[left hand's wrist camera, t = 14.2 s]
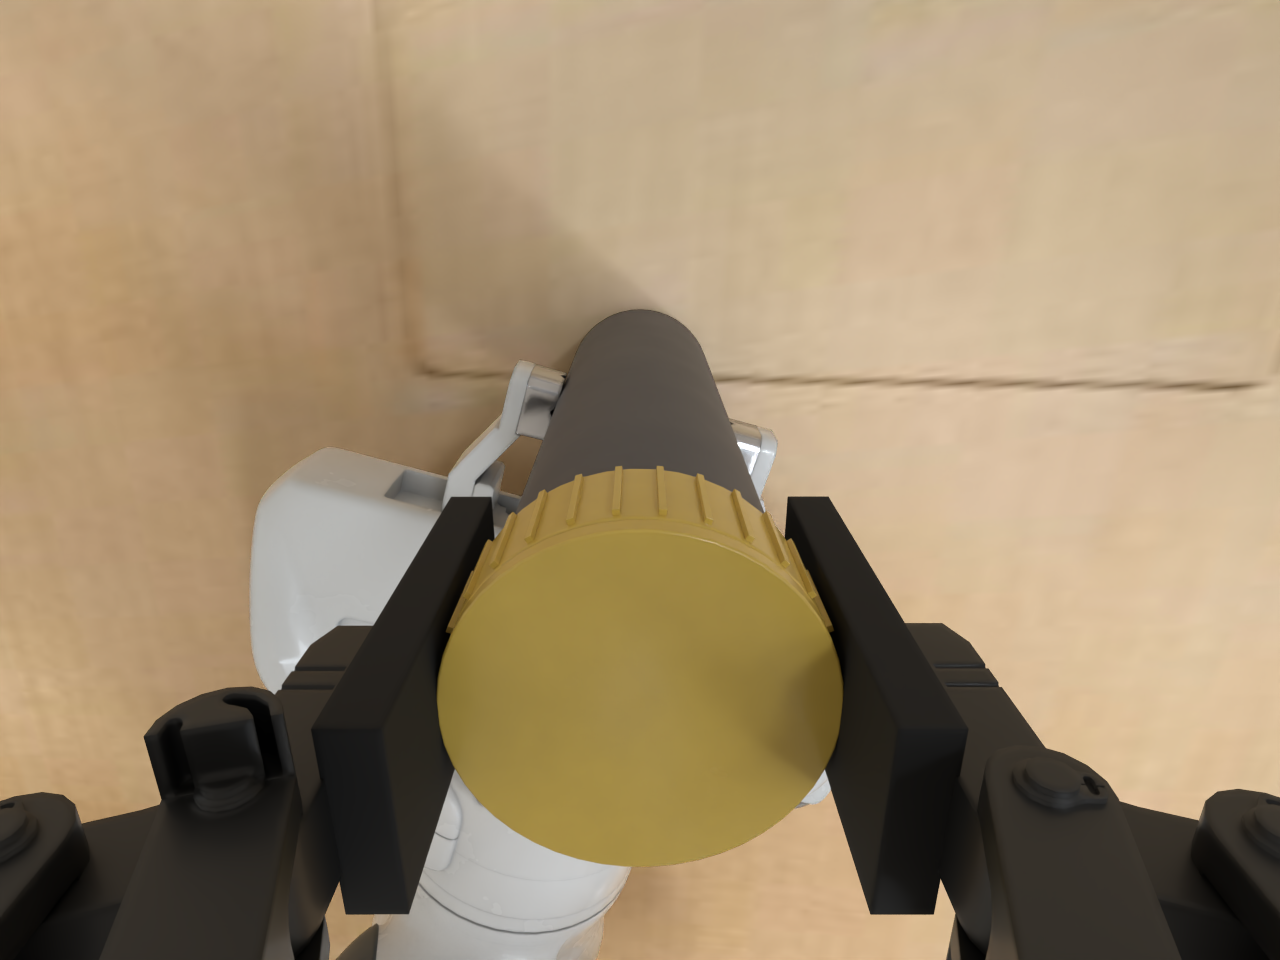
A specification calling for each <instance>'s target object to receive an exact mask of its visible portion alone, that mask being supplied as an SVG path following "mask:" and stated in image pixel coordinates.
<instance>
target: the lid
mask: <svg viewBox="0 0 1280 960" xmlns="http://www.w3.org/2000/svg"><path fill="white" fill-rule="evenodd" d="M832 631H834V628H833V626H832V623H831V621H830V619H829V616H828V614H827V612H826V610H825V607H824V605H823V603H822V600H821V598H820V596H819V594H818V591H817V589H816V587H815V584H814V582H813V580H812V578H811V575H810V573H809V571H808V570H806V569H805V567H804V564H803V562H802V560H801V557H800V555H799V553H798V550H797V548H796V546H795V544H794V542H793V540H792V539H789V540H787V541H786V539H785V538H784V537H783V535H782V534H781V533H780V531H779V530H778V529H777V527H776V526H775V524H774V522H773V519H772V517H771V515H770V514H769V513H768V512H767V511H765V512H764V513H762V512H760V511H759V510H758V509H756V508H755V507H754V506H752V505H751V504H750V503H749V502H747V501H746V500H745V499H743V498H742V496H741V493H740V491H738V490H736V489H734V490H733V491H732V492H731V491H729V490H727V489H725V488H724V487H721V486H719V485H716V484H714V483H711V482H709V481H707V480H705V479H704V475H701V474H698V473H697V475H696V477H694V476H690V475H686V474H683V473H679V472H672V471H665V470H664V467H663V466H656V469H624V470H623V468H622V466H616V467H615V471H607V472H602V473H598V474H594V475H590V476H586V477H583V475H582V474H579V475H576V476H575V479H574V481H571V482H569V483H566V484H563V485H561V486H559V487H557V488H555V489H553V490H551V491H549V492H548V493H547V492H546V490H545V489H544V490H542V491H541V492H539V494H538V497H537V499H536V500H535V501H533V502H532V503H530V504H529V505H528V506H526V507H525V508H523V509H522V510H521V511H520V512H519V513H518V514H517V515H516V514H515V513H514V512H512V513H511V514H510V515H509V516H508V518H507V521H506V523H505V526H504V528H503V529H502V530H501V532H500V533H499V534H498V535H497V537H496V538H495V539H494V540H493V542H492V541H491V540H489V539H488V540H487V542H486V543H485V546H484V548H483V550H482V553H481V555H480V557H479V560H478V562H477V564H476V567H475V569H474V571H471V574H470V576H469V578H468V580H467V583H466V585H465V587H464V590H463V592H462V594H461V597H460V599H459V601H458V603H457V606H456V608H455V610H454V613H453V615H452V617H451V620H450V622H449V624H448V627H447V629H446V632H447V633H450V634H451V635H450V638H449V640H448V643H447V645H446V648H445V650H444V653H443V655H442V659H441V664H440V668H439V673H438V677H437V693H436V694H437V708H438V717H439V726H440V731H441V735H442V739H443V742H444V746H445V748H446V750H447V753H448V755H449V757H450V760H451V762H452V764H453V766H454V768H455V769H456V771H457V773H458V774H459V776H460V778H461V779H462V781H463V783H464V784H465V785H466V787H467V788H468V789H469V790H470V792H471V793H472V794H473V795H474V796H475V798H476V799H477V800H478V801H479V802H480V803H481V804H482V805H483V806H484V807H485V808H486V809H487V810H488V811H489V812H490V813H491V814H492V815H493V816H494V817H496V818H497V819H498V820H500V821H501V822H502V823H504V824H505V825H506V826H508V827H509V828H510V829H512V830H513V831H515V832H517V833H518V834H520V835H522V836H523V837H525V838H527V839H529V840H530V841H532V842H534V843H536V844H538V845H541V846H543V847H545V848H548V849H550V850H552V851H554V852H557V853H560V854H563V855H566V856H570V857H573V858H576V859H579V860H584V861H589V862H594V863H598V864H605V865H614V866H623V867H655V866H666V865H676V864H681V863H686V862H691V861H696V860H700V859H704V858H707V857H710V856H714V855H717V854H720V853H723V852H725V851H728V850H730V849H732V848H735V847H737V846H740V845H742V844H744V843H746V842H748V841H749V840H751V839H753V838H755V837H757V836H758V835H760V834H762V833H764V832H765V831H767V830H768V829H769V828H771V827H772V826H774V825H775V824H776V823H778V822H779V821H781V820H782V819H783V818H784V817H785V816H786V815H788V814H789V813H790V812H791V811H792V810H793V809H794V808H795V807H796V806H797V805H799V803H800V802H801V801H802V800H803V799H804V798H805V796H806V795H807V794H808V793H809V792H810V791H811V789H812V788H813V787H814V786H815V784H816V782H817V781H818V779H819V778H820V776H821V775H822V773H823V772H824V770H825V769H826V766H827V764H828V762H829V760H830V758H831V756H832V753H833V751H834V749H835V746H836V742H837V739H838V736H839V729H840V721H841V713H842V704H843V690H844V683H843V677H842V672H841V666H840V661H839V658H838V655H837V652H836V649H835V647H834V644H833V641H832V638H831V636H830V634H829V632H832Z"/></svg>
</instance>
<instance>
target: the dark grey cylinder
mask: <svg viewBox="0 0 1280 960" xmlns="http://www.w3.org/2000/svg"><path fill="white" fill-rule="evenodd" d="M616 466H622V468H623V470H624V469H656V466H663V467H664V470H665V471H672V472H679V473H683V474H686V475H690V476H694V477H696V475H697V473H698V474H701V475H704V479H705V480H707V481H709V482H711V483H714V484H716V485H719V486H721V487H724V488H725V489H727V490H729V491H731V492H732V491H733V490H734V489H736V490H738V491H740V493H741V496H742V498H743V499H745V500H746V501H747V502H749V503H750V504H751V505H752V506H754V507H755V508H756V509H758V510H759V511H760V512H762V513H764V510H763V507H762V505H761V502H760V500H759V497H758V494H757V492H756V489H755V486H754V484H753V481H752V479H751V476H750V473H749V471H748V468H747V465H746V463H745V460H744V458H743V455H742V452H741V450H740V447H739V444H738V442H737V439H736V437H735V434H734V431H733V429H732V426H731V423H730V421H729V418H728V416H727V413H726V410H725V408H724V405H723V402H722V400H721V397H720V395H719V392H718V389H717V387H716V384H715V381H714V379H713V376H712V374H711V371H710V368H709V366H708V363H707V360H706V358H705V355H704V353H703V350H702V348H701V346H700V344H699V343H698V341H697V339H696V338H695V337H694V335H693V334H692V333H691V332H690V331H689V330H688V329H687V328H686V327H685V326H684V325H683V324H681V323H680V322H678V321H677V320H675V319H674V318H672V317H670V316H668V315H665V314H662V313H660V312H655V311H651V310H629V311H624V312H620V313H617V314H614V315H612V316H610V317H608V318H606V319H604V320H603V321H601V322H600V323H598V324H597V325H596V326H595V327H594V328H592V329H591V330H590V332H589V333H588V334H587V335H586V336H585V338H584V339H583V341H582V342H581V344H580V346H579V348H578V350H577V352H576V354H575V357H574V360H573V362H572V365H571V368H570V370H569V373H568V376H567V378H566V381H565V384H564V387H563V390H562V392H561V395H560V397H559V400H558V402H557V405H556V407H555V410H554V413H553V415H552V418H551V420H550V423H549V426H548V428H547V431H546V434H545V436H544V439H543V442H542V444H541V447H540V449H539V452H538V455H537V457H536V460H535V463H534V465H533V468H532V471H531V473H530V476H529V479H528V481H527V484H526V486H525V489H524V492H523V494H522V497H521V500H520V502H519V505H518V508H517V510H516V513H515V514H516V515H517V514H518V513H519V512H520V511H521V510H522V509H523V508H525V507H526V506H528V505H529V504H530V503H532V502H533V501H535V500H536V499H537V497H538V494H539V492H541V491H542V490H544V489H545V490H546V492H547V493H548V492H549V491H551V490H553V489H555V488H557V487H559V486H561V485H563V484H566V483H569V482H571V481H574V479H575V476H576V475H579V474H582V475H583V477H586V476H590V475H594V474H598V473H602V472H607V471H615V467H616Z"/></svg>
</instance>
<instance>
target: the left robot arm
mask: <svg viewBox="0 0 1280 960" xmlns="http://www.w3.org/2000/svg"><path fill="white" fill-rule="evenodd" d="M488 539H489V540H491V541H492V542H493V540H494V539H495V535H494V522H493V509H492V497H451V498H450V499H449V501H448V503H447V504H446V506H445V508H444V509H443V511H442V513H441V514H440V516H439V518H438V519H437V521H436V523H435V524H434V526H433V527H432V529H431V531H430V532H429V534H428V536H427V537H426V539H425V541H424V542H423V544H422V546H421V547H420V549H419V551H418V552H417V554H416V556H415V557H414V559H413V561H412V562H411V564H410V566H409V567H408V569H407V571H406V572H405V574H404V575H403V577H402V579H401V580H400V582H399V584H398V585H397V587H396V589H395V590H394V592H393V594H392V595H391V597H390V599H389V600H388V602H387V604H386V605H385V607H384V609H383V610H382V612H381V614H380V615H379V617H378V618H377V620H376V622H375V623H374V625H373V626H336V627H335V628H334V629H332V630H331V631H329V632H328V633H326V634H325V635H324V636H322V637H321V638H319V639H318V640H316V641H315V642H314V643H312V644H311V645H310V646H309V647H308V649H307V650H306V652H305V653H304V654H303V656H302V657H301V659H300V660H299V661H298V663H297V664H296V666H295V670H294V671H291V673H290V674H289V675H288V677H287V678H286V680H285V681H284V682H283V684H282V688H281V690H278V691H277V692H276V694H275V695H274V694H273V693H272V692H271V691H269V690H264V689H260V688H255V687H233V688H225V689H221V690H217V691H213V692H209V693H205V694H201V695H199V696H197V697H195V698H192V699H190V700H188V701H186V702H184V703H181V704H179V705H177V706H175V707H174V708H173V709H171V710H170V711H169V712H167V713H166V714H164V715H163V716H162V717H160V718H159V719H157V720H156V721H155V723H154V724H153V725H152V726H151V728H150V729H149V730H148V732H147V733H146V734H145V736H144V740H145V743H146V747H147V750H148V754H149V757H150V761H151V764H152V768H153V771H154V775H155V778H156V782H157V785H158V789H159V792H160V796H161V799H162V800H161V803H160V805H157V806H154V807H150V808H147V809H144V810H140V811H135V812H131V813H127V814H122V815H118V816H113V817H109V818H105V819H100V820H96V821H91V822H87V823H83V824H81V821H80V818H79V815H78V812H77V809H76V806H75V804H74V803H73V802H71V801H70V800H69V799H67V798H66V797H65V796H64V795H59V794H52V793H44V792H40V793H34V794H27V795H21V796H14V797H12V798H9V799H6V800H2V801H0V960H329V951H330V942H329V935H328V929H327V924H326V919H325V913H326V911H327V909H328V906H329V904H330V902H331V899H332V897H333V895H334V892H335V890H336V888H337V885H338V883H339V881H340V886H341V892H342V897H343V902H344V907H345V913H346V914H409V913H410V909H411V906H412V903H413V900H414V897H415V894H416V890H417V887H418V884H419V881H420V878H421V875H422V871H423V868H424V865H425V862H426V859H427V856H428V852H429V849H430V846H431V843H432V840H433V837H434V833H435V830H436V827H437V824H438V821H439V818H440V815H441V811H442V808H443V805H444V802H445V799H446V796H447V792H448V789H449V786H450V783H451V780H452V777H453V773H454V770H455V768H454V766H453V764H452V762H451V760H450V757H449V755H448V753H447V750H446V748H445V746H444V742H443V739H442V735H441V731H440V726H439V717H438V708H437V694H436V693H437V677H438V673H439V668H440V664H441V659H442V655H443V653H444V650H445V648H446V645H447V643H448V640H449V638H450V635H451V634H450V633H447V632H446V629H447V627H448V624H449V622H450V620H451V617H452V615H453V613H454V610H455V608H456V606H457V603H458V601H459V599H460V597H461V594H462V592H463V590H464V587H465V585H466V583H467V580H468V578H469V576H470V574H471V571H474V569H475V567H476V564H477V562H478V560H479V557H480V555H481V553H482V550H483V548H484V546H485V543H486V542H487V540H488ZM785 539H786V541H787V540H789V539H792V540H793V542H794V544H795V546H796V548H797V550H798V553H799V555H800V557H801V560H802V562H803V564H804V567H805V569H806V570H808V571H809V573H810V575H811V578H812V580H813V582H814V584H815V587H816V589H817V591H818V594H819V596H820V598H821V600H822V603H823V605H824V607H825V610H826V612H827V614H828V616H829V619H830V621H831V623H832V626H833V628H834V631H832V632H829V634H830V636H831V638H832V641H833V644H834V647H835V649H836V652H837V655H838V658H839V661H840V666H841V672H842V677H843V683H844V690H843V704H842V713H841V721H840V729H839V736H838V739H837V742H836V746H835V749H834V751H833V753H832V756H831V758H830V760H829V762H828V764H827V766H826V769H825V772H826V775H827V778H828V781H829V784H830V788H831V791H832V794H833V797H834V800H835V803H836V807H837V810H838V813H839V816H840V819H841V822H842V826H843V829H844V832H845V835H846V838H847V841H848V845H849V848H850V851H851V854H852V857H853V860H854V864H855V867H856V870H857V873H858V876H859V879H860V882H861V886H862V889H863V892H864V895H865V898H866V901H867V905H868V908H869V911H870V914H934V910H935V905H936V900H937V894H938V889H939V884H940V878H941V880H942V883H943V885H944V887H945V890H946V892H947V894H948V897H949V899H950V901H951V903H952V906H953V908H954V910H955V913H956V914H955V919H954V924H953V929H952V933H951V938H950V943H949V948H948V953H947V958H946V960H1280V797H1276V796H1273V795H1270V794H1267V793H1262V792H1255V791H1249V790H1242V789H1234V790H1226V791H1219V792H1216V793H1215V794H1214V795H1213V796H1211V797H1210V798H1209V799H1208V800H1206V801H1205V804H1204V807H1203V810H1202V813H1201V816H1200V819H1199V821H1198V820H1194V819H1190V818H1185V817H1181V816H1176V815H1172V814H1167V813H1163V812H1159V811H1154V810H1150V809H1145V808H1141V807H1137V806H1134V805H1130V804H1127V803H1123V802H1120V801H1119V799H1118V797H1117V796H1116V794H1115V793H1114V791H1113V790H1112V788H1111V787H1110V785H1109V784H1108V782H1107V781H1106V780H1105V779H1103V778H1102V777H1101V776H1100V775H1099V774H1097V773H1096V772H1095V771H1094V770H1092V769H1091V768H1090V767H1089V766H1088V765H1086V764H1084V763H1082V762H1080V761H1078V760H1076V759H1074V758H1072V757H1070V756H1068V755H1066V754H1064V753H1061V752H1057V751H1054V750H1050V749H1047V748H1045V747H1044V745H1043V744H1042V742H1041V741H1040V740H1039V738H1038V737H1037V735H1036V734H1035V733H1034V731H1033V730H1032V728H1031V727H1030V726H1029V724H1028V723H1027V722H1026V720H1025V719H1024V717H1023V716H1022V715H1021V713H1020V712H1019V710H1018V709H1017V708H1016V706H1015V705H1014V703H1013V702H1012V701H1011V699H1010V698H1009V697H1008V695H1007V694H1006V692H1005V691H1004V690H1003V688H1002V687H999V686H998V681H997V680H996V678H995V677H994V676H993V674H992V673H991V672H990V670H989V669H986V668H985V663H984V662H983V660H982V659H981V658H980V656H979V655H978V653H977V652H976V651H975V649H974V648H973V647H972V645H971V644H970V642H968V641H967V640H966V639H964V638H963V637H961V636H960V635H958V634H957V633H955V632H954V631H953V630H951V629H950V628H948V627H947V626H945V625H944V624H942V623H904V621H903V619H902V618H901V616H900V614H899V613H898V611H897V609H896V608H895V606H894V604H893V603H892V601H891V600H890V598H889V596H888V595H887V593H886V591H885V590H884V588H883V586H882V585H881V583H880V581H879V580H878V578H877V576H876V575H875V573H874V571H873V570H872V568H871V566H870V565H869V563H868V561H867V560H866V558H865V556H864V555H863V553H862V552H861V550H860V548H859V547H858V545H857V543H856V542H855V540H854V538H853V537H852V535H851V533H850V532H849V530H848V528H847V527H846V525H845V523H844V522H843V520H842V518H841V517H840V515H839V513H838V512H837V510H836V509H835V507H834V505H833V504H832V502H831V500H830V499H829V497H788V502H787V515H786V529H785Z"/></svg>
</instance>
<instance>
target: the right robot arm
mask: <svg viewBox="0 0 1280 960" xmlns="http://www.w3.org/2000/svg"><path fill="white" fill-rule="evenodd" d="M566 376H567V373H564V372H561V371H558V370H554V369H551V368H548V367H544V366H541V365H538V364H535V363H532V362H528V361H524V360H519V361H518V363H517V364H516V366H515V367H514V370H513V373H512V376H511V379H510V382H509V386H508V390H507V395H506V399H505V403H504V408H503V412H502V414H501V415H500V416H499V417H498V418H497V419H496V420H495V421H494V422H493V423H492V424H491V425H490V426H489V427H488V428H487V429H486V430H485V431H484V432H483V433H482V434H481V435H480V436H479V437H478V438H477V439H476V440H475V441H474V442H473V443H472V444H471V445H470V446H469V447H468V448H467V449H466V450H465V451H464V452H463V453H462V455H461V456H460V458H459V459H458V461H457V462H456V464H455V465H454V467H453V468H452V470H451V471H450V473H449V475H448V477H447V476H443V475H439V474H435V473H431V472H428V471H424V470H420V469H416V468H413V467H409V466H405V465H401V464H397V463H394V462H390V461H386V460H382V459H378V458H375V457H371V456H367V455H363V454H359V453H356V452H352V451H348V450H345V449H341V448H336V447H325V448H322V449H320V450H318V451H316V452H314V453H313V454H311V455H310V456H308V457H306V458H305V459H303V460H301V461H300V462H298V463H297V464H295V465H294V466H293V467H291V468H290V469H288V470H287V471H286V472H285V473H284V474H282V475H281V476H280V477H279V478H278V479H277V480H276V481H275V482H274V483H273V484H272V485H271V486H270V487H269V488H268V489H267V491H266V492H265V493H264V495H263V497H262V498H261V500H260V502H259V505H258V507H257V511H256V516H255V521H254V528H253V536H252V546H251V561H250V584H249V611H250V635H251V647H252V654H253V658H254V662H255V666H256V669H257V672H258V674H259V676H260V678H261V680H262V682H263V684H264V685H265V687H266V688H267V690H269V691H271V692H272V693H273V694H274V695H275V694H276V692H277V691H278V690H281V688H282V684H283V682H284V681H285V680H286V678H287V677H288V675H289V674H290V673H291V671H294V670H295V666H296V664H297V663H298V661H299V660H300V659H301V657H302V656H303V654H304V653H305V652H306V650H307V649H308V647H309V646H310V645H311V644H312V643H314V642H315V641H316V640H318V639H319V638H321V637H322V636H324V635H325V634H326V633H328V632H329V631H331V630H332V629H334V628H335V627H336V626H373V625H374V623H375V622H376V620H377V618H378V617H379V615H380V614H381V612H382V610H383V609H384V607H385V605H386V604H387V602H388V600H389V599H390V597H391V595H392V594H393V592H394V590H395V589H396V587H397V585H398V584H399V582H400V580H401V579H402V577H403V575H404V574H405V572H406V571H407V569H408V567H409V566H410V564H411V562H412V561H413V559H414V557H415V556H416V554H417V552H418V551H419V549H420V547H421V546H422V544H423V542H424V541H425V539H426V537H427V536H428V534H429V532H430V531H431V529H432V527H433V526H434V524H435V523H436V521H437V519H438V518H439V516H440V514H441V513H442V511H443V509H444V508H445V506H446V504H447V503H448V501H449V499H450V498H451V497H492V509H493V522H494V535H495V538H496V537H497V535H498V534H499V533H500V532H501V530H502V529H503V528H504V526H505V523H506V521H507V518H508V516H509V515H510V514H511V513H512V512H514V513H516V510H517V508H518V505H519V502H520V500H521V497H522V496H519V495H515V494H511V493H507V492H504V491H500V488H501V483H502V479H503V474H504V470H505V465H504V463H503V462H500V461H497V460H496V459H497V458H498V457H499V456H500V455H501V454H502V453H503V452H504V451H505V450H506V449H507V448H508V447H509V446H510V445H511V444H512V443H513V442H514V441H515V440H516V439H517V438H518V437H519V436H520V435H524V436H528V437H532V438H536V439H540V440H543V439H544V436H545V434H546V431H547V428H548V426H549V423H550V420H551V418H552V415H553V413H554V410H555V407H556V405H557V402H558V400H559V397H560V395H561V392H562V390H563V387H564V384H565V380H566ZM729 421H730V423H731V426H732V429H733V431H734V434H735V437H736V439H737V442H738V444H739V447H740V450H741V452H742V455H743V458H744V460H745V463H746V465H747V468H748V471H749V473H750V476H751V479H752V481H753V484H754V486H755V489H756V492H757V494H758V497H759V500H760V502H761V505H762V507H763V510H764V512H765V507H764V502H763V499H762V496H761V494H762V491H763V489H764V486H765V483H766V480H767V478H768V475H769V472H770V470H771V467H772V464H773V461H774V459H775V456H776V451H777V444H778V443H777V439H776V437H775V435H774V433H773V432H772V430H770V429H766V428H762V427H759V426H756V425H752V424H748V423H744V422H741V421H737V420H733V419H729ZM830 790H831V788H830V784H829V781H828V778H827V775H826V772H825V770H824V772H823V773H822V775H821V776H820V778H819V779H818V781H817V782H816V784H815V786H814V787H813V788H812V789H811V791H810V792H809V793H808V794H807V795H806V796H805V798H804V799H803V800H802V801H801V802H800V803H799V805H797V806H796V807H795V808H800V807H803V806H806V805H809V804H817V803H819V802H821V801H822V800H823V799H824V798H825V797H826V796H827V794H828V793H829V792H830ZM795 808H794V809H795ZM631 868H632V867H623V866H614V865H605V864H598V863H594V862H589V861H584V860H579V859H576V858H573V857H570V856H566V855H563V854H560V853H557V852H554V851H552V850H550V849H548V848H545V847H543V846H541V845H538V844H536V843H534V842H532V841H530V840H529V839H527V838H525V837H523V836H522V835H520V834H518V833H517V832H515V831H513V830H512V829H510V828H509V827H508V826H506V825H505V824H504V823H502V822H501V821H500V820H498V819H497V818H496V817H494V816H493V815H492V814H491V813H490V812H489V811H488V810H487V809H486V808H485V807H484V806H483V805H482V804H481V803H480V802H479V801H478V800H477V799H476V798H475V796H474V795H473V794H472V793H471V792H470V790H469V789H468V788H467V787H466V785H465V784H464V783H463V781H462V779H461V778H460V776H459V774H458V773H457V771H456V769H455V770H454V773H453V777H452V780H451V783H450V786H449V789H448V792H447V796H446V799H445V802H444V805H443V808H442V811H441V815H440V818H439V821H438V824H437V827H436V830H435V833H434V837H433V840H432V843H431V846H430V849H429V852H428V856H427V859H426V862H425V865H424V868H423V871H422V875H421V878H420V881H419V884H418V887H417V890H416V894H415V897H414V900H413V903H412V906H411V909H410V913H409V914H374V918H373V923H372V926H371V927H370V928H369V929H367V930H366V931H365V932H363V933H362V934H361V935H360V936H359V937H358V938H356V939H355V940H354V941H353V942H352V943H351V944H350V945H349V946H348V947H347V948H346V949H345V950H344V951H343V952H342V953H341V955H340V956H339V957H338V958H337V959H336V960H597V957H598V954H599V950H600V946H601V942H602V937H603V930H604V915H605V914H606V912H607V911H608V910H609V909H610V907H611V906H612V905H613V903H614V902H615V901H616V899H617V898H618V896H619V894H620V892H621V891H622V889H623V887H624V885H625V883H626V881H627V878H628V876H629V873H630V871H631Z"/></svg>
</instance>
